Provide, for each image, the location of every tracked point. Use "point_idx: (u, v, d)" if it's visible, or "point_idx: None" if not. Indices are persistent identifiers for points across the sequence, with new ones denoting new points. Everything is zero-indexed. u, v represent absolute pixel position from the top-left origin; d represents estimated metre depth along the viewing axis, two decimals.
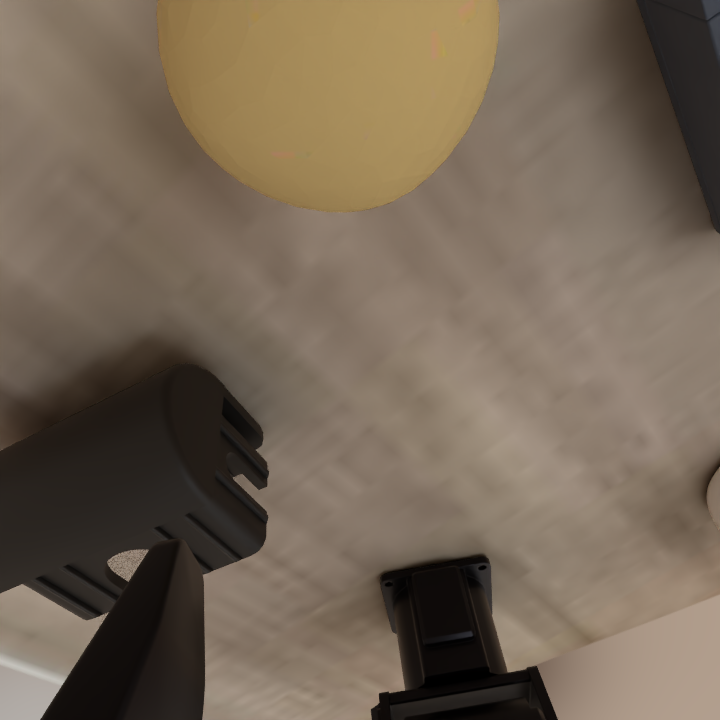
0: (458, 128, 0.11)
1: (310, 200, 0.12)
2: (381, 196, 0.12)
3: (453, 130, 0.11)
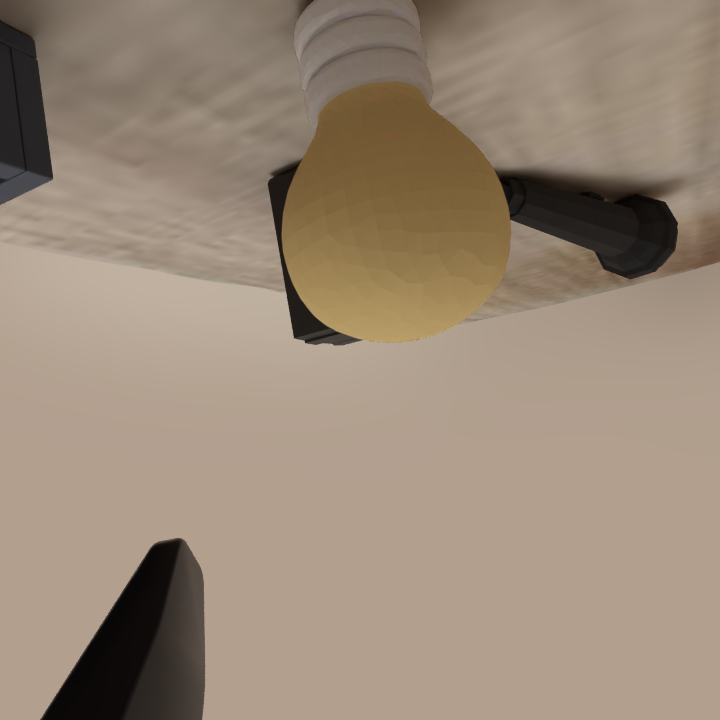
0: (335, 306, 0.16)
1: (451, 284, 0.15)
2: (398, 296, 0.15)
3: (340, 309, 0.16)
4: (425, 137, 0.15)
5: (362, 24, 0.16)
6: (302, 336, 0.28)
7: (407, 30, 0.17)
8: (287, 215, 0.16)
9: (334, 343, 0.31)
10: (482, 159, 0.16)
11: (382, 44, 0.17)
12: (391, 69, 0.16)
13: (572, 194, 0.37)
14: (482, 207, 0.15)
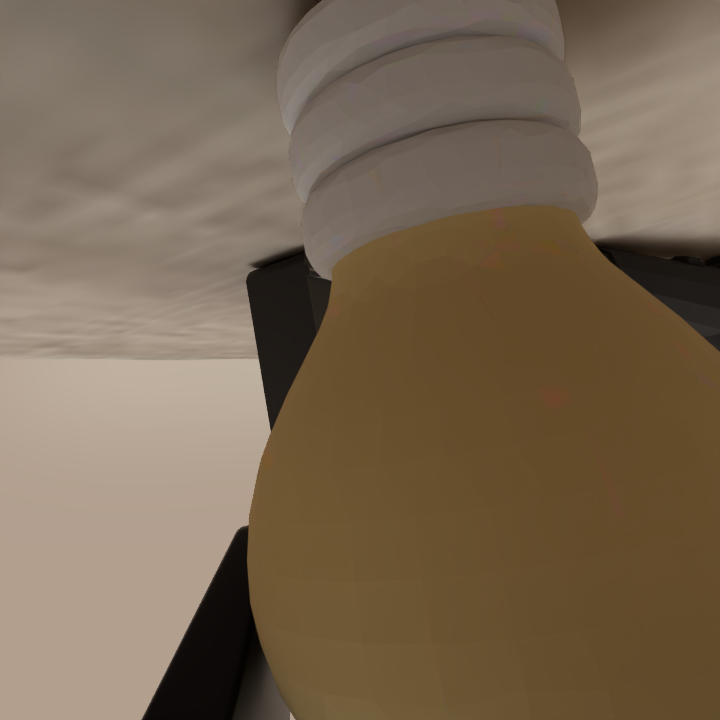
0: None
1: None
2: None
3: None
4: (656, 403, 0.05)
5: (449, 61, 0.06)
6: None
7: (555, 73, 0.07)
8: (257, 555, 0.06)
9: None
10: None
11: (498, 111, 0.07)
12: (525, 178, 0.06)
13: (671, 264, 0.27)
14: None
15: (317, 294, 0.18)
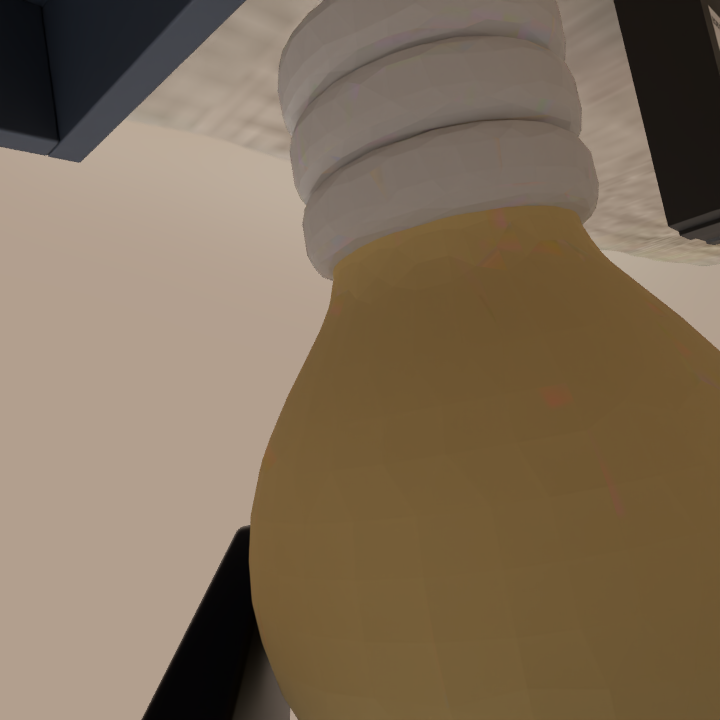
0: None
1: None
2: None
3: None
4: (657, 403, 0.05)
5: (451, 61, 0.06)
6: (683, 221, 0.18)
7: (556, 73, 0.07)
8: (258, 554, 0.06)
9: (709, 240, 0.20)
10: None
11: (499, 111, 0.07)
12: (526, 178, 0.06)
13: None
14: None
15: None
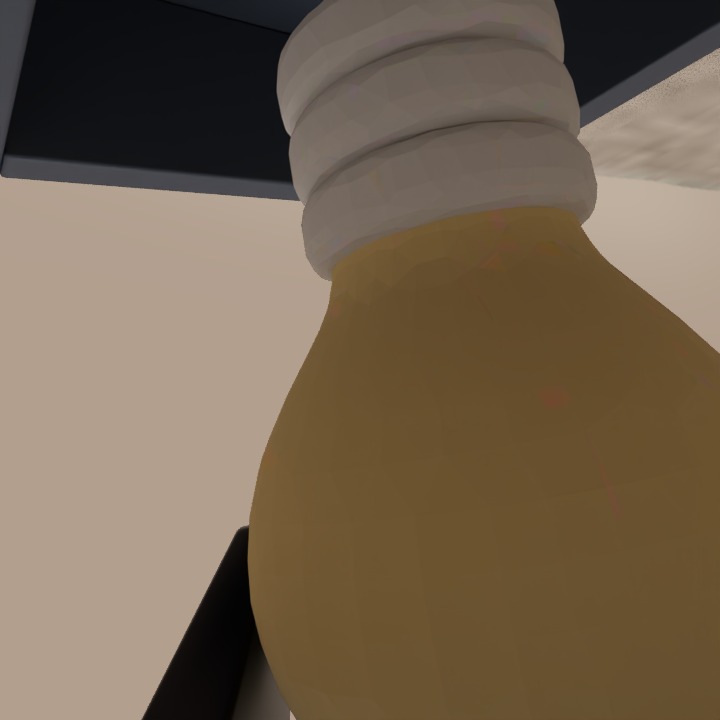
0: None
1: None
2: None
3: None
4: (654, 404, 0.05)
5: (449, 63, 0.06)
6: None
7: (554, 75, 0.07)
8: (257, 555, 0.06)
9: None
10: None
11: (497, 112, 0.07)
12: (524, 179, 0.06)
13: None
14: None
15: None
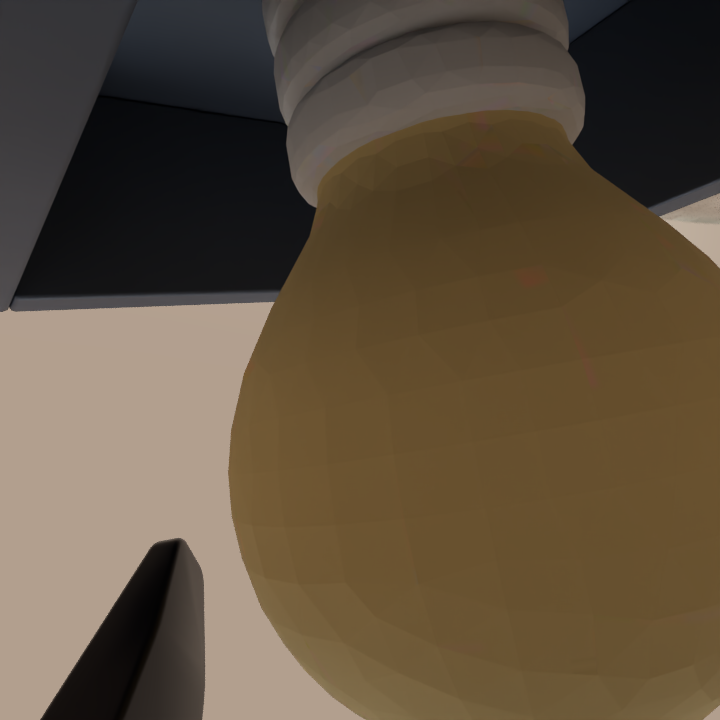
0: (360, 715, 0.06)
1: (703, 711, 0.05)
2: None
3: None
4: (635, 285, 0.05)
5: None
6: None
7: None
8: (236, 460, 0.06)
9: None
10: None
11: (481, 13, 0.06)
12: (508, 78, 0.06)
13: None
14: None
15: None
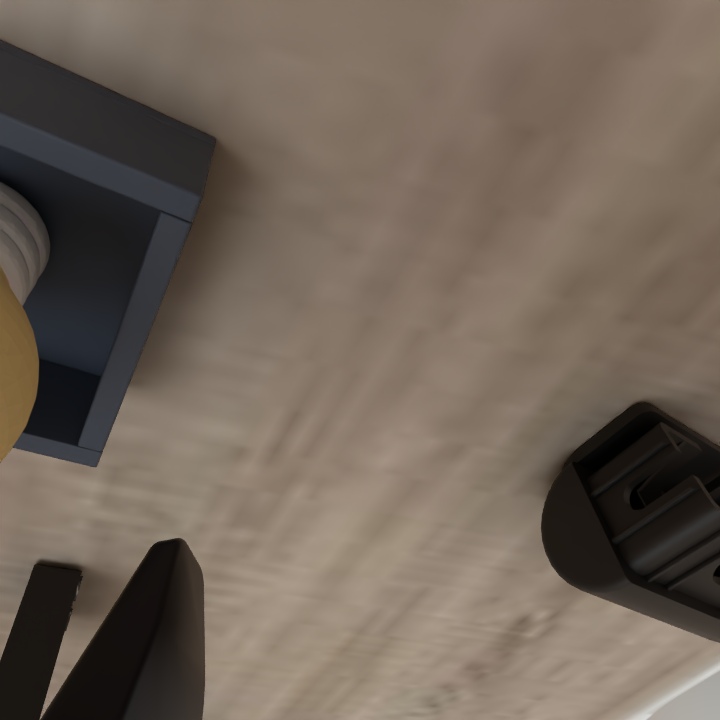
0: None
1: None
2: None
3: None
4: (34, 342, 0.15)
5: (32, 241, 0.17)
6: None
7: (35, 282, 0.18)
8: None
9: None
10: None
11: None
12: (22, 283, 0.17)
13: None
14: (20, 432, 0.14)
15: None
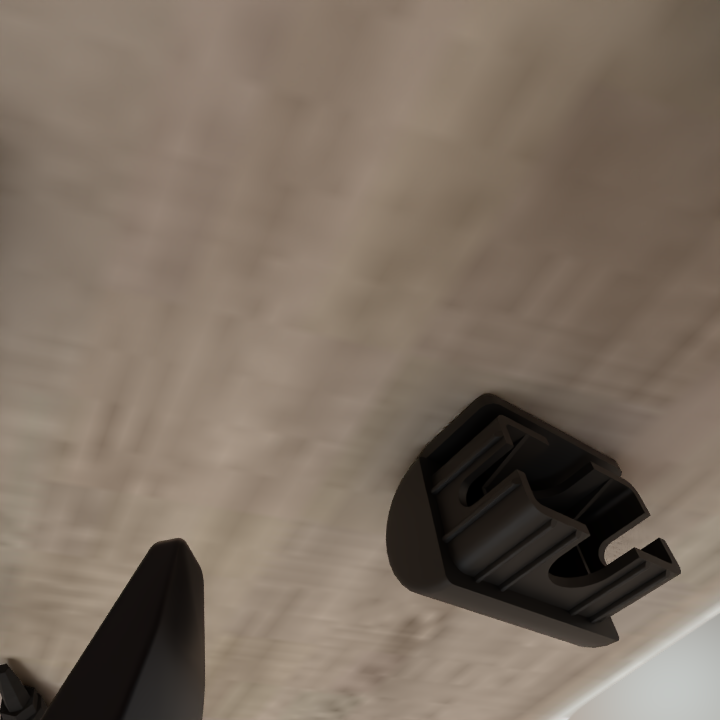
0: None
1: None
2: None
3: None
4: None
5: None
6: None
7: None
8: None
9: None
10: None
11: None
12: None
13: None
14: None
15: None
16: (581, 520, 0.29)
